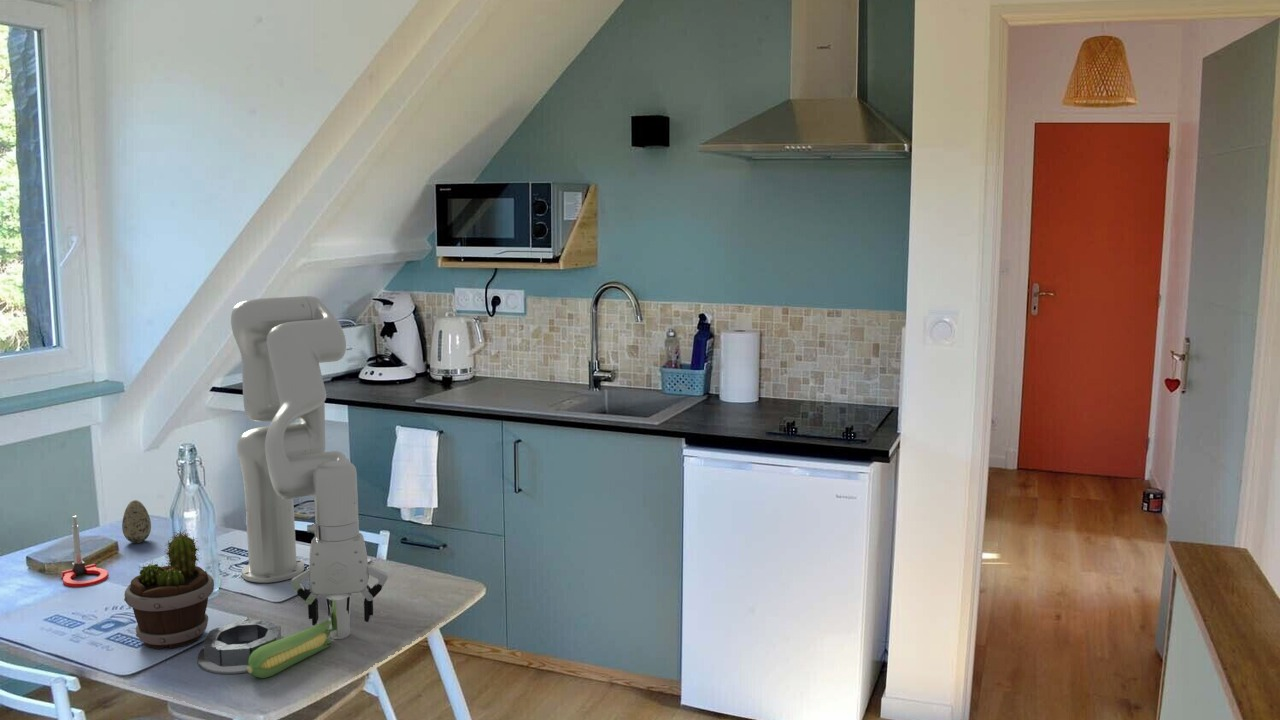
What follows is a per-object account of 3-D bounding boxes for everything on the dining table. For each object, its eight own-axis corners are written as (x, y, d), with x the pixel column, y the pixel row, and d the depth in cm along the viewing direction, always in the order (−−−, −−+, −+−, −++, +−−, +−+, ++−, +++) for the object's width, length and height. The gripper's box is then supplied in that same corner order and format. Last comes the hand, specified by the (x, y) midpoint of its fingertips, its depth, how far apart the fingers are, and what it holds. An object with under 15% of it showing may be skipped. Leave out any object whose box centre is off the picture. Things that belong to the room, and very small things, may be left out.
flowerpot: (166, 663, 182) (158, 552, 178) (110, 644, 189) (101, 537, 186) (235, 632, 194) (229, 528, 191) (180, 615, 202) (172, 515, 198)
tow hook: (114, 581, 219) (98, 568, 226) (110, 523, 217) (94, 511, 223) (70, 592, 214) (56, 578, 220) (66, 532, 211) (51, 519, 217)
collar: (209, 639, 191) (208, 619, 190) (295, 634, 193) (294, 614, 193) (187, 677, 177) (186, 655, 176) (281, 671, 179) (279, 650, 178)
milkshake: (361, 632, 194) (359, 581, 193) (338, 643, 190) (336, 590, 188) (345, 626, 197) (342, 576, 195) (322, 637, 192) (319, 585, 191)
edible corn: (235, 655, 175) (253, 653, 173) (326, 616, 192) (343, 614, 190) (242, 685, 175) (260, 684, 173) (332, 644, 192) (350, 642, 190)
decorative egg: (157, 538, 244) (154, 497, 243) (142, 547, 238) (139, 504, 237) (133, 537, 245) (130, 496, 243) (117, 546, 239) (114, 503, 237)
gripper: (283, 539, 185) (288, 632, 188) (385, 534, 188) (388, 626, 191) (290, 525, 192) (295, 615, 195) (388, 521, 195) (391, 609, 198)
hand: (341, 620), depth 193 cm, fingers open, 8 cm apart
